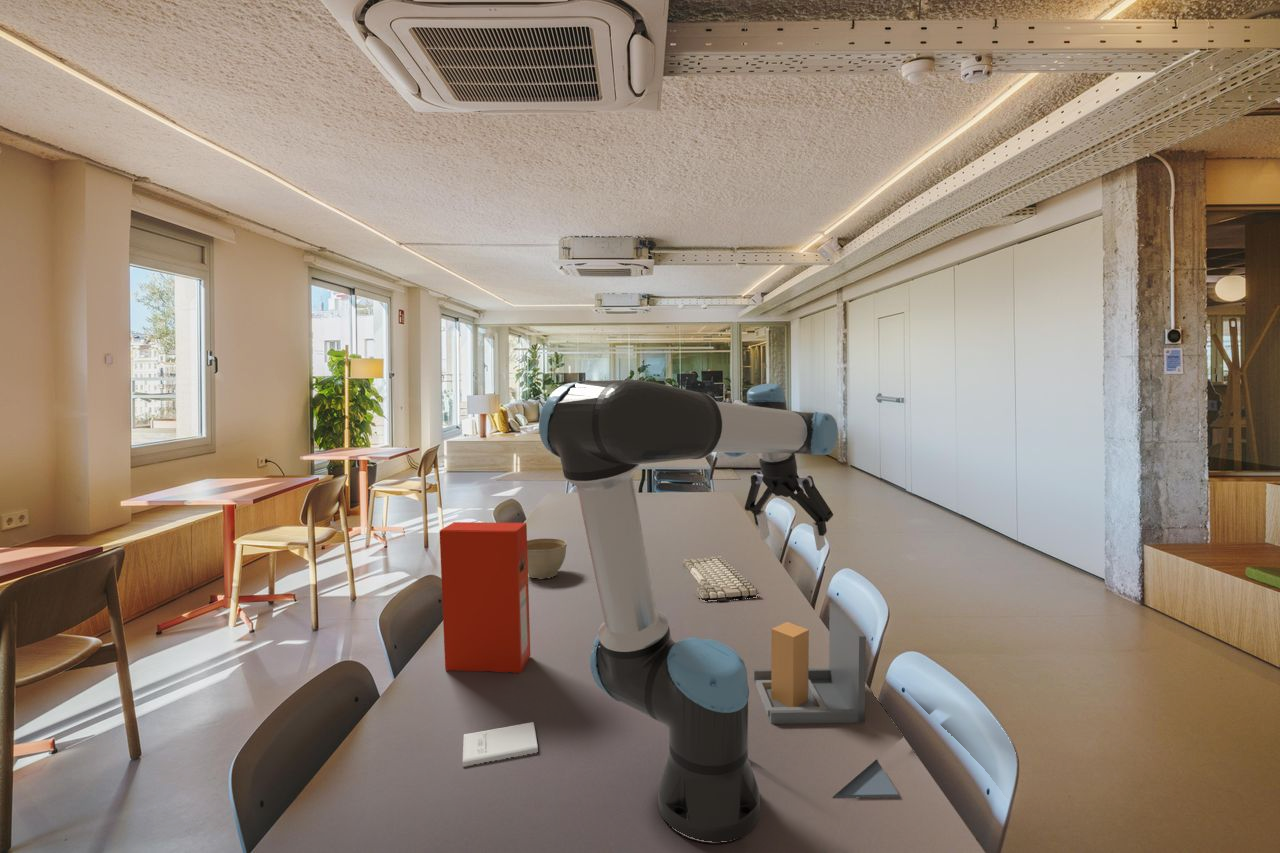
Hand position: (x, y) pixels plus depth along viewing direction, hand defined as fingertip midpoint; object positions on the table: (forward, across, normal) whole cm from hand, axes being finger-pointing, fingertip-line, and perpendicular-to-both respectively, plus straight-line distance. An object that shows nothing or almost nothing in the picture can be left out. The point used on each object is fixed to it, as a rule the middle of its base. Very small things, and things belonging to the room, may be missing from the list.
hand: (792, 542), depth 127 cm
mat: (+18, -25, +35) cm, 47 cm away
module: (+20, -8, +24) cm, 32 cm away
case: (+22, -10, +22) cm, 33 cm away
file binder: (+11, +52, +53) cm, 75 cm away
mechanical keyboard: (+37, +46, -24) cm, 64 cm away
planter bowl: (+25, +93, +8) cm, 96 cm away
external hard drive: (+8, +24, +67) cm, 72 cm away
